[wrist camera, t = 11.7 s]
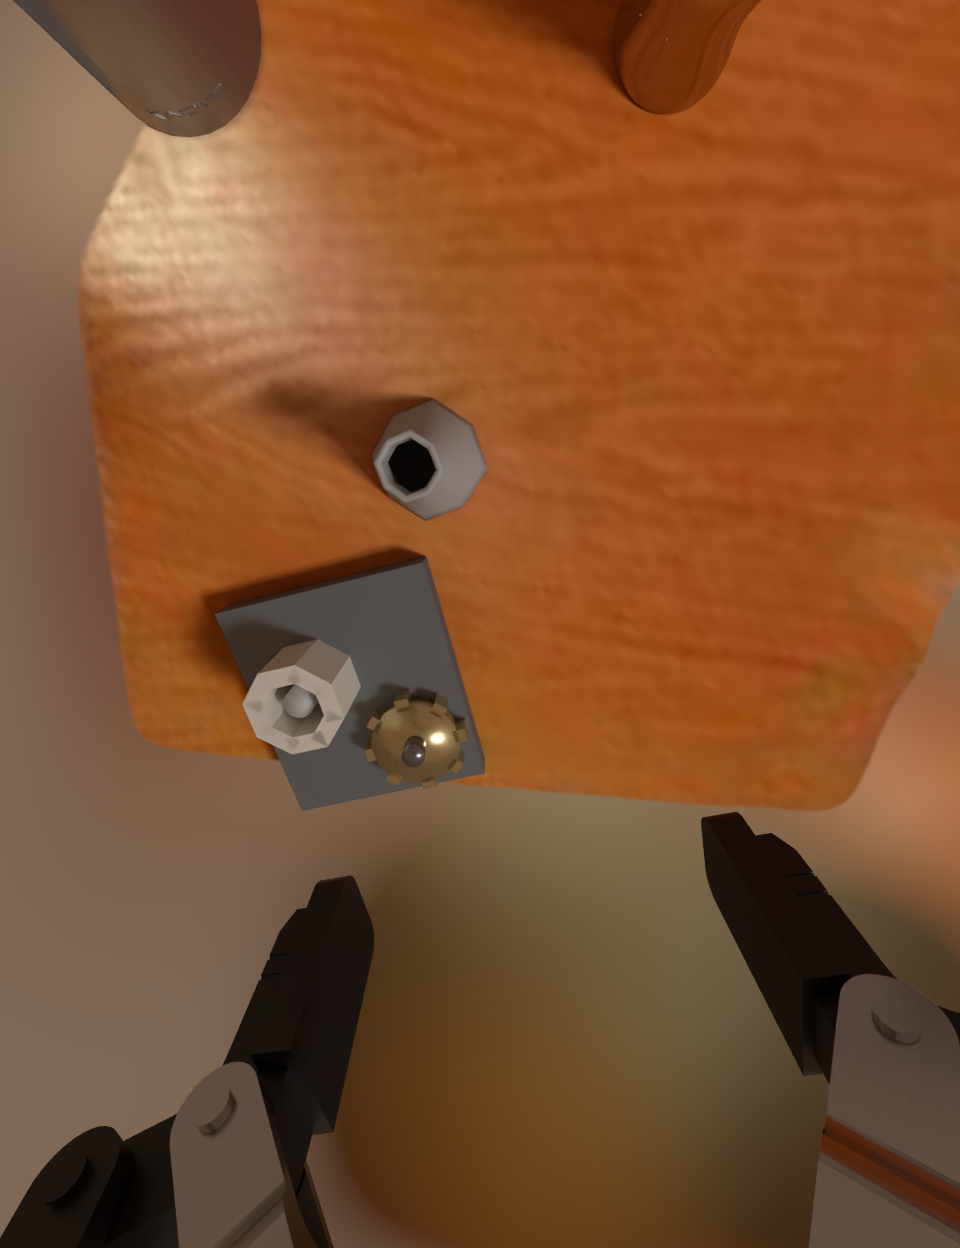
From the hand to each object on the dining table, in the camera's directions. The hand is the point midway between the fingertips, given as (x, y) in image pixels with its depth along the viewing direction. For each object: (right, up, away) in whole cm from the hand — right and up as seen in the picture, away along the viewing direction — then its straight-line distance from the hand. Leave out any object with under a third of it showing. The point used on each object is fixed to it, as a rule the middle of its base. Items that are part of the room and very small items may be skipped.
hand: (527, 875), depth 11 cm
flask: (-4, +16, +22) cm, 28 cm away
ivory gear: (-13, +2, +25) cm, 28 cm away
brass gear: (-6, -3, +26) cm, 27 cm away
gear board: (-10, +1, +27) cm, 29 cm away
